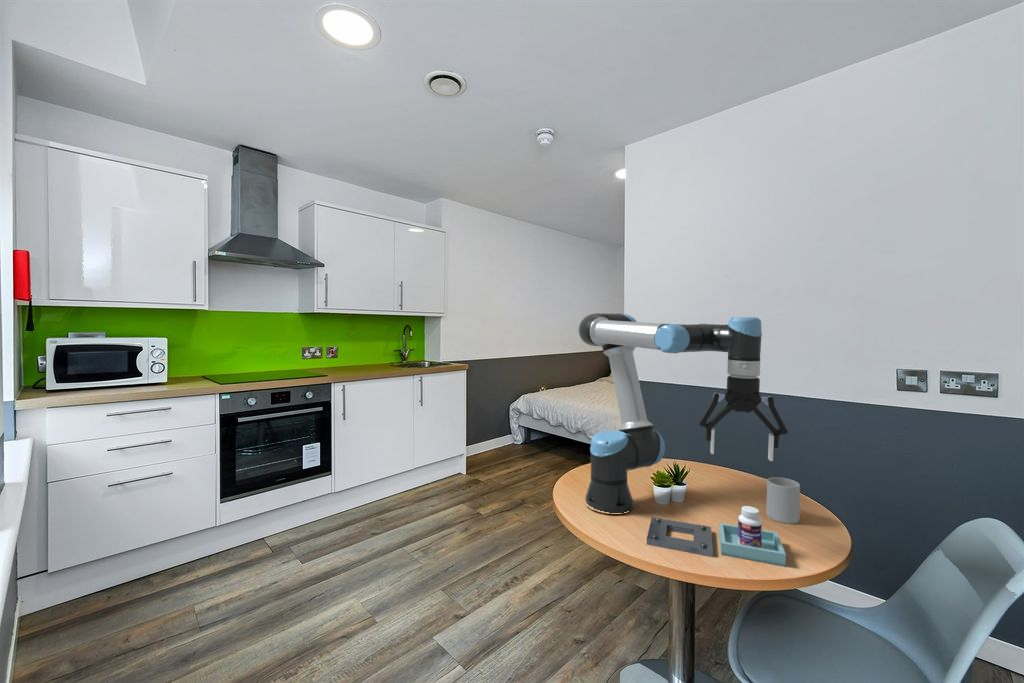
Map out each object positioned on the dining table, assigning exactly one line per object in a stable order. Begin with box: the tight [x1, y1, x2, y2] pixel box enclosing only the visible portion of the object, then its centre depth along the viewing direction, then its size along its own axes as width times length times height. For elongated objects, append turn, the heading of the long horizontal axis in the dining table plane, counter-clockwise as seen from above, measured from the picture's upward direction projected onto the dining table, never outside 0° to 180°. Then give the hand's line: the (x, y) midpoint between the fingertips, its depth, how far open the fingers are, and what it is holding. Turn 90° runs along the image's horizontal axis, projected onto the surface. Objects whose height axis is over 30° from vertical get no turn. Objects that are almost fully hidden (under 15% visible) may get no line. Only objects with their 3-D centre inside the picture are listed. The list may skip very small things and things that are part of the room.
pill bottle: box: [737, 505, 763, 548], centre depth 110 cm, size 5×5×10 cm
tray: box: [718, 522, 787, 567], centre depth 111 cm, size 14×12×3 cm
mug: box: [765, 476, 801, 525], centre depth 130 cm, size 12×8×11 cm
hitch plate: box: [646, 516, 714, 558], centre depth 117 cm, size 16×14×2 cm
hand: (740, 456), depth 112 cm, fingers open, 13 cm apart
